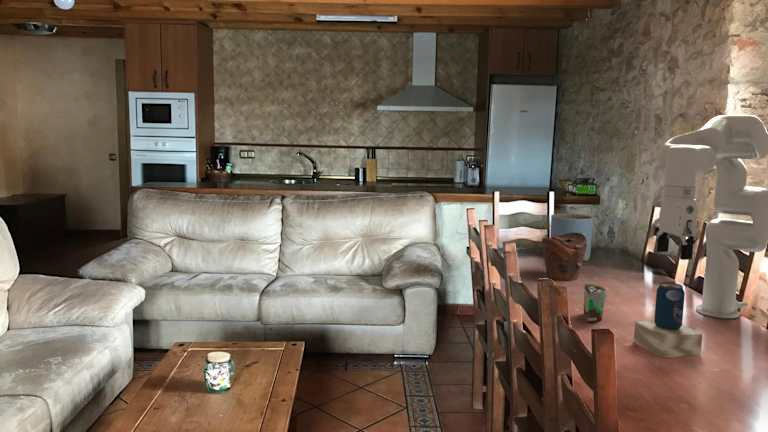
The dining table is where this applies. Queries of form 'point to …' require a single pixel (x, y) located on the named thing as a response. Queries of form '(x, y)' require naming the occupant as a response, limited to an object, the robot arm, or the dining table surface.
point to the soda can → (669, 306)
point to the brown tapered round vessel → (564, 255)
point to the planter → (573, 227)
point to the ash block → (667, 340)
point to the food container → (594, 302)
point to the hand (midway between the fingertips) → (673, 255)
